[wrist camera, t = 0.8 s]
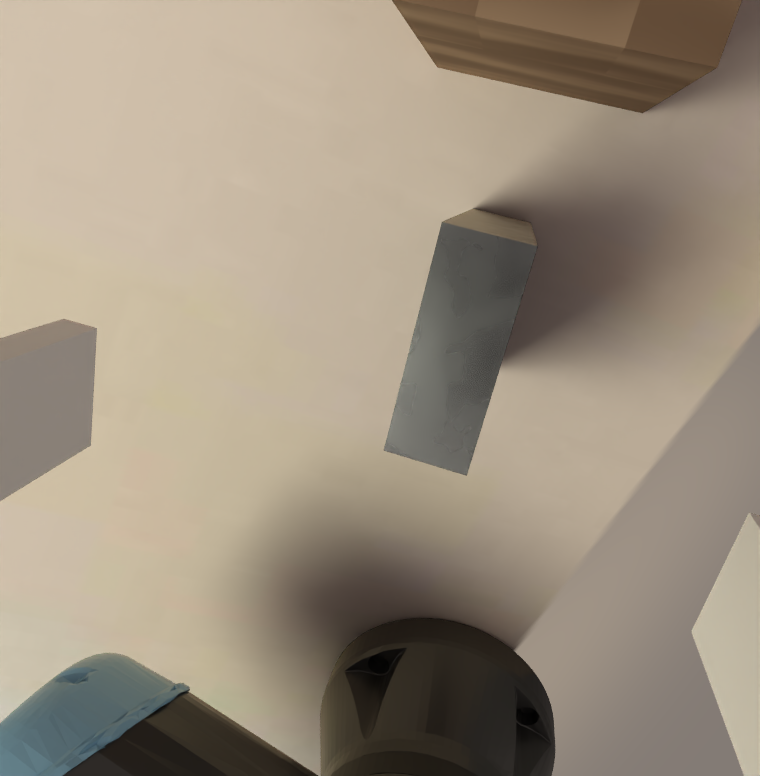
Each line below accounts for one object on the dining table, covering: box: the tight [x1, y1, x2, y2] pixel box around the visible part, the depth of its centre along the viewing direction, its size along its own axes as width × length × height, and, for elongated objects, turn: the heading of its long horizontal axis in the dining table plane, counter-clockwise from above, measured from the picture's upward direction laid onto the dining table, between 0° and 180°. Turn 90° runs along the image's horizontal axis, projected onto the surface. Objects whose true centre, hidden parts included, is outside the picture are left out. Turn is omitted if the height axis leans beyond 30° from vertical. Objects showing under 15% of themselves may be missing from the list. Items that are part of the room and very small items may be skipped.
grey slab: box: [384, 209, 538, 476], centre depth 27 cm, size 8×3×14 cm, turn 167°
